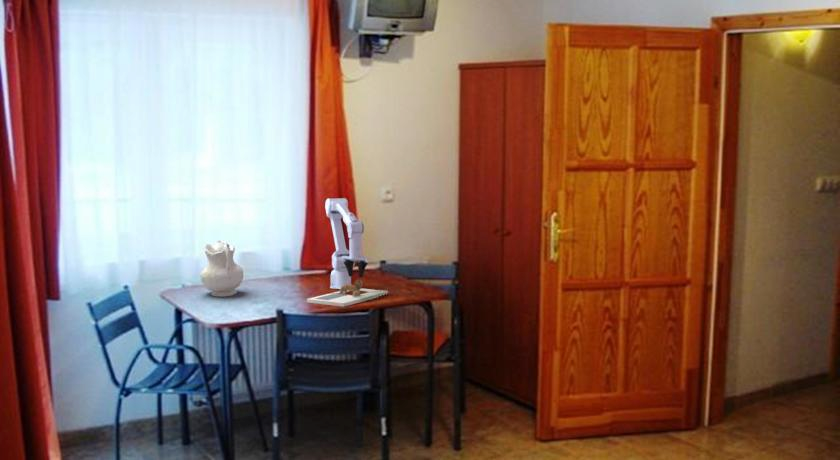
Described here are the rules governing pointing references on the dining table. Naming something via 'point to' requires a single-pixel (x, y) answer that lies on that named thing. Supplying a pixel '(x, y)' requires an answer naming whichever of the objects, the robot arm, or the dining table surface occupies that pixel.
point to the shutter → (368, 294)
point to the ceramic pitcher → (221, 270)
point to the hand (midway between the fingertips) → (355, 276)
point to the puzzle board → (340, 298)
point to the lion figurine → (351, 287)
